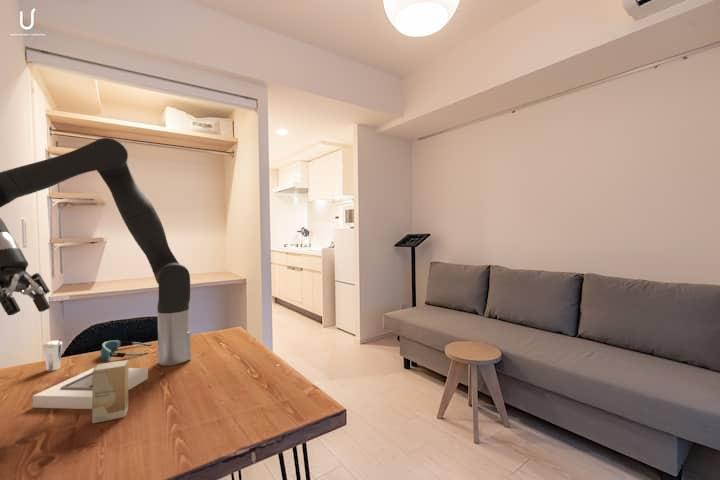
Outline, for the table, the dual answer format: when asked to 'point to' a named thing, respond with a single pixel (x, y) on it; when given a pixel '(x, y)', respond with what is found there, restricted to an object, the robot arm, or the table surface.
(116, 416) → the skincare box
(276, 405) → the table surface
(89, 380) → the socket plate
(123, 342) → the sunglasses
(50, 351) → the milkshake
